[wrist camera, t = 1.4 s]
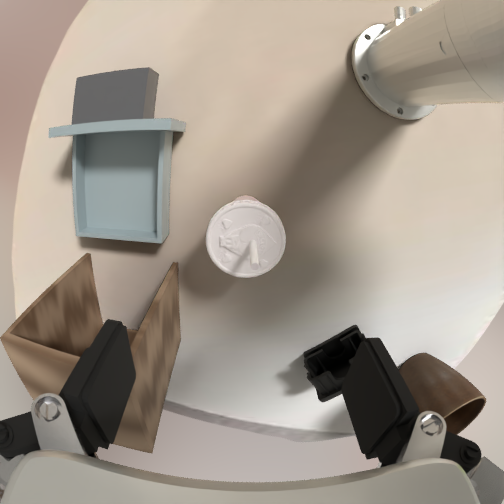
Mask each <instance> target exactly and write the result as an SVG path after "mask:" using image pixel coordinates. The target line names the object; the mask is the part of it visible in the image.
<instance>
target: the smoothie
mask: <svg viewBox="0 0 504 504" xmlns="http://www.w3.org/2000/svg"><path fill="white" fill-rule="evenodd" d="M285 245H286V235H285V230H284V227H283V224H282V221H281V219H280V218H279V216H278V215H277V214H276V212H275V211H273V210H272V209H271V208H270V207H269V206H267V205H265V204H263V203H261V202H259V201H258V200H257V199H256V198H254V197H252V196H248V195H243V196H240V197H237V198H236V199H235V200H234V201H232V202H231V203H229V204H226V205H225V206H223V207H222V208H221V209H219V210H218V211H217V212H216V213H215V215H214V216H213V217H212V218H211V220H210V223H209V225H208V228H207V234H206V247H207V251H208V253H209V256H210V258H211V259H212V261H213V262H214V263H215V265H216V266H217V267H218V268H220V269H221V270H222V271H224V272H225V273H227V274H230V275H232V276H236V277H241V278H250V277H256V276H260V275H262V274H264V273H266V272H268V271H270V270H271V269H272V268H273V267H274V266H275V265H276V264H277V263H278V262H279V261H280V259H281V257H282V255H283V253H284V250H285Z"/></svg>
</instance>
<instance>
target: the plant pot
mask: <svg viewBox="0 0 504 504" xmlns="http://www.w3.org/2000/svg"><path fill="white" fill-rule="evenodd" d="M399 372H400V374H401V376H402V377H403V379H404V381H405V383H406V385H407V386H408V388H409V390H410V392H411V394H412V396H413V398H414V399H415V401H416V403H417V405H418V407H419V412H420V414H421V413H422V412H425V411H433V412H436V413H438V414H439V415H441V416H442V417H443V419H444V420H445V422H446V431H449V432H451V433H453V434H456V435H457V434H458V433H460V432H461V431H462V430H464V429H465V428H466V427H467V426H468V425H469V424H470V423H471V422H472V421H473V420H474V419H475V418H476V417H477V416H478V414H479V413H480V412H481V410H482V409H483V407H484V406H485V403H486V398H485V397H484V396H483V395H482V394H481V392H480V391H479V390H478V389H477V388H476V387H475V386H474V385H473V384H472V383H470V382H469V381H468V380H467V379H466V378H465V377H463V376H462V375H461V374H460V373H458V372H457V371H455V370H454V369H453V368H451V367H450V366H448V365H447V364H445V363H444V362H442V361H440V360H439V359H437V358H435V357H433V356H431V355H429V354H427V353H419V354H417V355H414V356H413V357H411V358H410V359H408V360H407V361H406V362H405V363H404V364H403V365H402V366H401V368H400V369H399Z"/></svg>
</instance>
